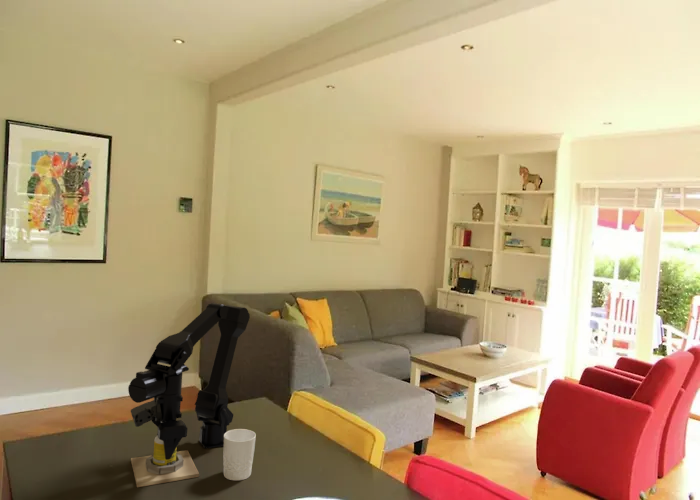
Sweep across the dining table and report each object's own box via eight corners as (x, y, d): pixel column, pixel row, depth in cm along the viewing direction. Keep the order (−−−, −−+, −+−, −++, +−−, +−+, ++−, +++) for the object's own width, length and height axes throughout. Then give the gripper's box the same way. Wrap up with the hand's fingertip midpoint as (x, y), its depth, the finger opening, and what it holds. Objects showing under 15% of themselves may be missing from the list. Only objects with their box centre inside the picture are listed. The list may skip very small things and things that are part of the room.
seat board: (187, 453, 133) (187, 444, 133) (198, 476, 121) (199, 467, 121) (130, 461, 126) (131, 452, 126) (137, 487, 114) (137, 477, 114)
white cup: (237, 485, 118) (240, 444, 118) (214, 475, 122) (216, 435, 122) (259, 473, 125) (262, 434, 125) (237, 464, 129) (239, 426, 129)
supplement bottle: (168, 472, 121) (170, 432, 120) (148, 468, 122) (150, 429, 121) (179, 462, 126) (182, 424, 126) (160, 459, 127) (162, 421, 127)
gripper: (130, 383, 127) (126, 442, 128) (138, 407, 111) (134, 475, 112) (175, 379, 133) (171, 437, 133) (189, 402, 117) (185, 467, 117)
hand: (165, 453), depth 124 cm, fingers open, 7 cm apart
